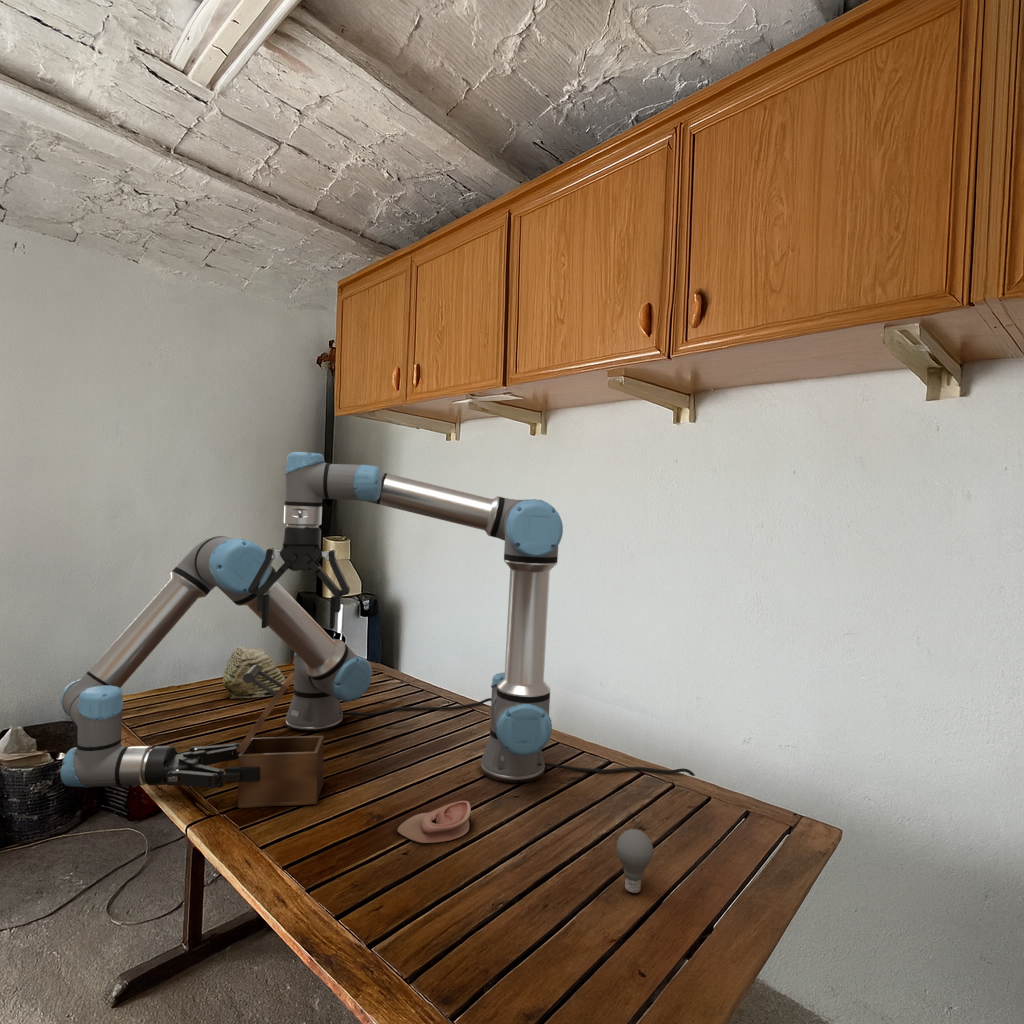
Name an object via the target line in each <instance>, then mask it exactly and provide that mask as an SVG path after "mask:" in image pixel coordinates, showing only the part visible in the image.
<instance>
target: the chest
mask: <svg viewBox="0 0 1024 1024" xmlns="http://www.w3.org/2000/svg"><path fill="white" fill-rule="evenodd" d="M324 750H325V735H299V736H296V735H295V736H271V737H267V736H266V737H253V738H252V739H251V741H250V742H249V743H248V745H247V746H246V748H245V749H244V751H243V752H242V753H240V754H239V759H238V764H237V765H238V766H237V767H260V780H259V781H258V782H237V808H238V809H245V808H246V809H249V808H267V807H287V806H288V807H289V806H308V805H317V804H318V800H319V798H320V795H321V791H322V788H323V785H324V763H325V762H324V758H325V757H324V752H325V751H324Z"/></svg>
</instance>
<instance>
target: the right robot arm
mask: <svg viewBox="0 0 1024 1024" xmlns="http://www.w3.org/2000/svg"><path fill="white" fill-rule="evenodd" d="M323 499H325V500H340V501H341V500H343V501H360V502H366V503H369V504H375V505H379V506H384V507H388V508H392V509H395V510H400V511H404V512H408V513H412V514H416V515H421V516H424V517H428V518H432V519H435V520H436V519H437V520H440V521H445V522H448V523H453V524H457V525H460V526H465V527H469V528H474V529H476V530H481V531H484V532H485V533H486V535H487V536H488V537H492V538H495V539H499V540H502V541H503V542H504V548H503V549H504V550H503V551H504V552H503V562H504V563H505V564H506V565H507V566H508V568H509V588H508V603H507V605H508V608H507V624H506V640H505V641H506V643H505V660H504V661H505V662H504V672H498V673H496V674H494V675H493V676H492V680H491V681H492V683H491V685H490V688H491V697H490V698H491V701H490V702H491V703H490V721H489V723H490V724H489V736H488V741H487V743H486V745H485V749H484V751H483V754H482V755H481V756H482V757H481V760H480V771H481V772H482V774H483V775H485V776H486V777H487V778H489V779H491V780H494V781H497V782H500V783H506V784H524V783H530V782H533V781H536V780H538V779H540V778H542V777H543V776H544V774H545V768H546V767H549V768H556V769H563V770H569V771H575V772H585V773H620V772H625V771H644V772H645V771H646V772H653V773H661V774H677V773H688V774H689V775H690V776H692V777H694V776H696V775H695V773H694V772H693V771H692V770H690V769H688V768H682V767H681V768H676V769H663V768H662V769H661V768H654V767H645V766H626V767H618V768H585V767H576V766H569V765H565V764H564V765H563V764H559V763H558V764H557V763H551V762H545V758H544V754H543V751H542V750H543V749H544V748H545V747H546V746H547V745H548V743H549V741H550V739H551V737H552V732H553V724H552V719H551V717H550V704H551V703H550V702H551V687H550V686H549V684H547V682H546V681H545V666H546V650H547V649H546V647H547V631H548V630H547V629H548V613H549V611H548V609H549V594H550V593H549V592H550V575H551V570H552V569H553V568H555V566H557V565H558V561H559V560H558V559H559V545H560V543H561V541H562V538H563V534H564V525H563V521H562V518H561V516H560V514H559V512H558V511H557V509H556V508H555V507H554V506H553V505H552V504H550V503H548V502H547V501H545V500H543V499H536V498H532V499H527V498H526V499H516V498H515V499H514V498H507V497H502V496H496V497H494V498H489V497H484V496H481V495H477V494H473V493H469V492H464V491H461V490H456V489H452V488H449V487H444V486H440V485H436V484H433V483H428V482H424V481H419V480H416V479H411V478H408V477H404V476H399V475H396V474H391V473H387V472H383V471H382V470H381V468H380V467H379V466H377V465H369V464H352V463H351V464H347V463H329V462H326V461H325V457H324V455H323V454H322V453H318V452H307V451H292V452H290V453H289V454H288V455H287V456H286V465H285V472H284V506H283V508H284V509H283V524H284V525H286V526H285V527H284V528H283V531H282V534H283V535H282V548H281V549H275V548H274V547H270V548H267V549H266V550H265V552H266V556H265V560H264V562H263V564H262V566H261V567H260V569H259V571H258V573H257V574H256V576H255V578H254V580H253V581H252V583H251V585H250V587H249V588H248V591H249V592H250V593H254V594H256V595H257V610H258V611H262V620H261V629H266V628H267V627H268V620H269V595H265V593H266V592H267V591H268V590H269V589H270V588H271V587H272V586H273V585H274V583H275V582H276V581H277V582H278V581H279V579H281V577H282V576H283V575H284V574H285V573H286V572H288V570H290V571H292V572H298V571H301V572H309V571H312V572H313V573H314V574H316V575H317V577H318V578H319V579H320V580H321V582H322V583H323V584H324V586H325V587H326V588H327V589H328V590H329V591H330V592H331V594H332V596H331V597H330V603H329V604H330V606H329V627H328V628H329V630H334V629H335V628H336V613H340V612H341V609H342V598H343V596H347V595H349V594H350V592H351V588H350V586H349V584H348V582H347V580H346V577H345V575H344V573H343V571H342V569H341V567H340V565H339V563H338V561H337V560H338V559H337V551H336V550H335V549H331V550H325V551H324V550H322V548H321V547H322V546H321V545H322V543H321V542H322V529H321V528H320V527H319V526H321V525H322V517H323ZM278 557H280V558H281V559H282V561H283V562H284V563H283V564H282V565H281V566H280V567H279V568H278V569H277V570H276V573H275V574H274V575H273V576H272V577H271V578H270V579H269V580H268V581H267V582H266V583H265V584H264V585H263V586H262V587H261V588H259V587H258V586H259V585H260V583H261V581H262V579H263V578H264V576H265V574H266V572H267V571H268V569H269V567H270V565H271V566H272V563H273V562H274V560H276V559H277V558H278ZM322 558H324V560H325V561H326V562H329V566H330V567H331V570H332V572H333V574H334V576H335V578H336V580H337V582H338V585H339V587H340V588H339V587H338V586H337V584H336V583H335V581H333V580H332V579H331V577H330V576H329V575H328V573H327V572H326V571H325V570H324V569H323V567H322V566H321V564H320V563H319V562H320V560H321V559H322Z"/></svg>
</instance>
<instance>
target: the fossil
mask: <svg viewBox="0 0 1024 1024" xmlns="http://www.w3.org/2000/svg"><path fill="white" fill-rule="evenodd" d="M254 665H259V666H261V671H262V672H264V673H266V674H267V675H269V676H270V677H272V678H274V679H275V680H277V681H278V682H280V683H282V684H283V683H284V682H285V681H286V678H285V676H284V674H283V673H282V672H281V669H279V668H278V667H277V665H276V663H275V662H274V660H273V659H272V658H271V657H270V656H269V655H268V654H267V653H266V652H265V650H264V649H263V648H260V647H258V648H251V647H247V646H246V647H245V646H238V647H237V648H236V649H235V650H233V651H232V653H231V656H230V657H229V659H228V660H227V663H226V666H225V668H224V671H223V675H222V676H223V677H222V685H223V687H224V688H225V690H226V691H228V693H229V698H230V699H250V698H264V697H271V696H273V695H272V694H271V693H269V692H267V691H266V690H264V689H262V688H261V687H259V686H258V685H256V684H254V683H253V682H251V683H245V682H244V680H243V676H244V675H245V674H246V673H247V672H248V671H249V670H250V668H251V667H252V666H254ZM255 679H256V680H258V681H260V682H261V683H263V684H265V685H266V686H268V687H269V688H271V689H273V690H274V691H276V692H278V691H279V689H280V687H278V686H277V685H275V684H274V683H272V682H270V681H269V680H267V679H266V678H264V677H262V676H261V675H259V674H258V676H257V677H256V678H255Z"/></svg>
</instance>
